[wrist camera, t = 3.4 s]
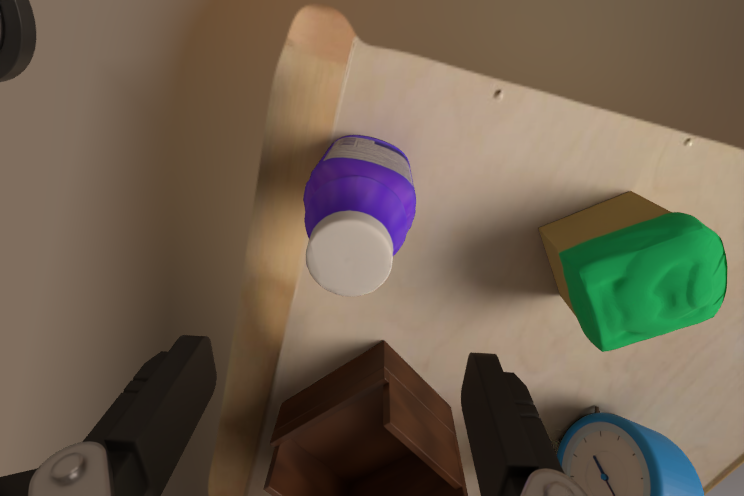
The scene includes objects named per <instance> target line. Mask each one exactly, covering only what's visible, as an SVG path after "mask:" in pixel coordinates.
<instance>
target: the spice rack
mask: <svg viewBox="0 0 744 496" xmlns="http://www.w3.org/2000/svg"><path fill="white" fill-rule="evenodd" d="M270 445H272V446H273V447H274V448H275V450H274V453H273V457H272V460H271V464H270V467H269V471H268V475H267V478H266V482H265V485H264V490H265V491H266V492H268V493H269V494H271V495H272V496H468V493H467V488H466V483H465V478H464V473H463V468H462V462H461V457H460V452H459V447H458V442H457V437H456V431H455V426H454V421H453V416H452V411H451V407H450V406H449V405H448V404H447V403H446V402H445V401H444V400H443V399H442V398H441V397H440V396H439V395H438V394H437V393H436V392H435V391H434V390H433V389H432V388H431V387H430V386H429V385H428V384H427V383H426V382H425V381H424V380H423V379H422V378H421V377H420V376H419V375H418V374H417V373H416V372H415V371H414V370H413V369H412V368H411V367H410V366H409V365H408V364H407V363H406V362H405V361H404V360H403V359H402V358H401V357H400V356H399V355H398V354H397V353H396V352H395V351H394V350H393V349H392V348H391V347H390V346H389V345H388V344H387V343H386V342H385V341H382V342H381V343H379V344H377V345H376V346H374V347H373V348H371V349H369V350H368V351H366V352H364V353H363V354H361V355H360V356H358V357H356V358H355V359H353V360H352V361H350V362H348V363H347V364H345V365H343V366H342V367H340V368H339V369H337V370H335V371H334V372H332V373H330V374H329V375H327V376H326V377H324V378H322V379H321V380H319V381H317V382H316V383H314V384H313V385H311V386H309V387H308V388H306V389H304V390H303V391H301V392H300V393H298V394H296V395H295V396H293V397H292V398H290V399H288V400H287V401H285V402H283V403H282V405H281V408H280V411H279V415H278V418H277V421H276V425H275V428H274V432H273V435H272V438H271V441H270Z"/></svg>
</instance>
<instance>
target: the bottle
mask: <svg viewBox="0 0 744 496" xmlns="http://www.w3.org/2000/svg"><path fill="white" fill-rule="evenodd" d="M303 201H304V205H305V227H306V231H307V235H308V237H309V243H308V246H307V250H306V263H307V267H308V269H309V272H310V274H311V275H312V277H313V278H314V280H315V281H316V282H317V283H318V284H319V285H321V286H322V287H323V288H324V289H326V290H328V291H330V292H332V293H335V294H338V295H342V296H361V295H365V294H368V293H371V292H373V291H374V290H376V289H377V288H379V287H380V286H381V285H382V284H383V283H384V282H385V280H386V279H387V278H388V276H389V274H390V271H391V268H392V262H393V256H394V255H395V254H396V253H397V251H398V250H399V249H400V247H401V246H402V244H403V242H404V241H405V237H406V234H407V232H408V230H409V229H410V227H411V225H412V222H413V219H414V216H415V206H416V195H415V190H414V186H413V181H412V176H411V170H410V165H409V161H408V159H407V157H406V156H405V154H404V153H403V152H402V151H401V150H400V149H398V148H397V147H395V146H393V145H391V144H389V143H387V142H385V141H382V140H379V139H376V138H372V137H368V136H361V135H349V136H344V137H341V138H339V139H337V140H336V141H335V142H334V143H333V144H332V145H331V146H330V147H329V148H328V150H327V151H326V153H325V154H324V156H323V157H322V158H321V160H320V161H319V163H318V164H317V165H316V167H315V168H314V170H313V171H312V172H311V176H310V179H309V181H308V182H307V183H306V187H305V192H304V199H303Z"/></svg>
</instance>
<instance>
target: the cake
mask: <svg viewBox="0 0 744 496" xmlns="http://www.w3.org/2000/svg"><path fill="white" fill-rule="evenodd" d="M538 229H539V232H540V235H541V238H542V241H543V244H544V247H545V250H546V253H547V257H548V260H549V263H550V266H551V269H552V272H553V275H554V278H555V281H556V284H557V287H558V290H559V293H560V296H561V297H562V298H563V300H564V301H565V302H566V304H567V305H568V306H569V308H570V309H571V310H572V312H573V313H574V314H575V316H576V317H577V319H578V321H579V323H580V326H581V328H582V330H583V332H584V334H585V335H586V336H587V338H588V339H589V340H590V341H591V342H592V343H593V344H594V345H595V346H596V347H597V348H598V349H600V350H601V351H602V352H604V351H610V350H614V349H618V348H621V347H624V346H627V345H630V344H633V343H636V342H639V341H643V340H646V339H650V338H653V337H656V336H659V335H663V334H666V333H669V332H672V331H675V330H678V329H681V328H684V327H688V326H691V325H695V324H698V323H701V322H703V321H705V320H708V319H710V318H713V317H714V316H715V314H716V313H717V312H718V310H719V308H720V306H721V304H722V302H723V300H724V297H725V293H726V288H727V260H726V254H725V250H724V247H723V243H722V240H721V238H720V237H719V236H718V235H717V234H716V233H715V232H714V231H712V230H711V229H709V228H708V227H706V226H705V225H704V224H703V223H701V222H700V221H699V220H698V219H696V218H695V217H693V216H691V215H688V214H684V213H680V212H674V213H673V212H670V211H668V210H666V209H664V208H662V207H660V206H659V205H657V204H655V203H653V202H651V201H649V200H647V199H645V198H643V197H641V196H640V195H638V194H636V193H634V192H632V191H630V192H627V193H625V194H622V195H620V196H617V197H615V198H612V199H610V200H607V201H605V202H602V203H600V204H597V205H595V206H592V207H590V208H587V209H585V210H582V211H580V212H577V213H575V214H572V215H570V216H567V217H565V218H562V219H559V220H557V221H554V222H552V223H549V224H547V225H544V226H542V227H539V228H538Z"/></svg>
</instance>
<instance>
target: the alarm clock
mask: <svg viewBox="0 0 744 496" xmlns="http://www.w3.org/2000/svg"><path fill="white" fill-rule="evenodd" d="M559 443H560V446H559V449H558V452H557V458H558V460H559V462H560V465H561V467H562V469H563V471H564V473H565V474H566V475H567V476H569V477H570V478H572V479H573V480H574V481H575V482H577V483H578V484H579V485H580V486H581V487H582V488H583V490H584V491H585V492H586V494H587V495H588V496H704V491H703V488H702V485H701V482H700V479H699V477H698V475H697V473H696V471H695V469H694V467H693V465H692V464H691V462H690V461H689V459H688V458H687V456H686V455H685V454H684V453H683V451H682V450H681V449H680V448H679V447H678V446H677V445H676V444H674V443H673V442H672V441H671V440H669V439H668V438H667V437H665V436H663V435H662V434H660V433H658V432H656V431H654V430H651V429H649V428H646V427H644V426H642V425H639V424H637V423H634V422H632V421H630V420H627V419H625V418H622V417H620V416H617V415H614V414H609V413H600V411H599V408H598V407H597V406H595V413H594V414H590V415H587V416H585V417H583V418H581V419H579V420H578V421H576V422H575V423H574V424H573V425H572V426H571V427H570V428H569V429H568V431H567V432H566V434H565V435H564V437H563V439H562V441H561V440H559Z"/></svg>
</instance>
